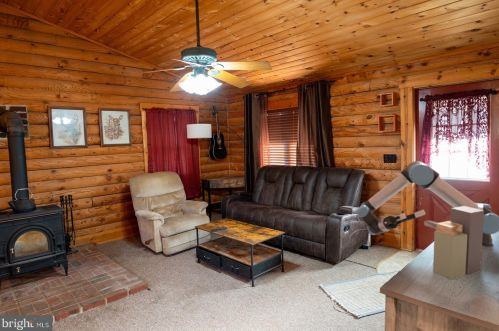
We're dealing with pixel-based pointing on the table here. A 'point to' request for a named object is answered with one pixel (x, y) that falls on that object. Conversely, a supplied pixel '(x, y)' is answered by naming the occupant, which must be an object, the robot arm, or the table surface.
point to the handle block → (445, 227)
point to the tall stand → (471, 234)
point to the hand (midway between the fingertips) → (414, 213)
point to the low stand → (450, 255)
